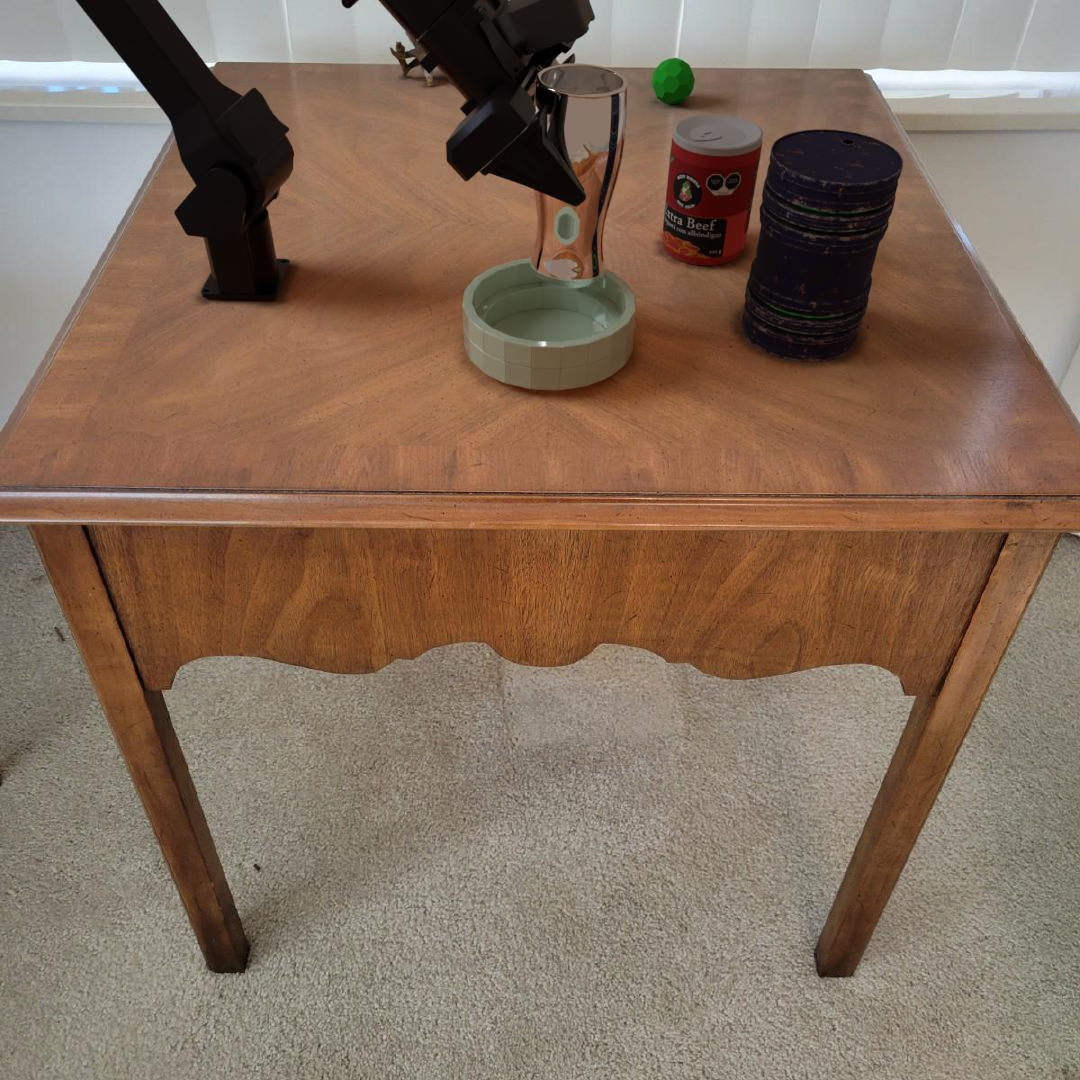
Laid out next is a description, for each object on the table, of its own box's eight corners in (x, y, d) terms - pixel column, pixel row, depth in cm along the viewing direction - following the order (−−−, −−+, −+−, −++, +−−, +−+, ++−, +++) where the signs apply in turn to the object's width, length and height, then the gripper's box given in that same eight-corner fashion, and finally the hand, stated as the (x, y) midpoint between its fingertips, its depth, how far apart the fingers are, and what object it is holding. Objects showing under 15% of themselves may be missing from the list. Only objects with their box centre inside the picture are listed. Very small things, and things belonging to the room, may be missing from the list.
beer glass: (549, 298, 79) (563, 101, 69) (509, 259, 84) (516, 68, 73) (625, 282, 82) (649, 89, 72) (583, 244, 86) (599, 57, 76)
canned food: (644, 247, 96) (655, 130, 88) (695, 219, 100) (709, 105, 92) (710, 276, 92) (727, 157, 84) (760, 246, 96) (781, 129, 89)
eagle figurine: (393, 84, 122) (466, 71, 121) (385, 20, 121) (458, 7, 119) (410, 99, 129) (479, 87, 128) (402, 39, 128) (471, 27, 127)
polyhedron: (695, 109, 120) (699, 67, 117) (653, 110, 120) (657, 68, 117) (687, 94, 124) (692, 52, 121) (647, 94, 124) (651, 53, 120)
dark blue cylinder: (837, 375, 81) (883, 196, 71) (722, 341, 84) (750, 165, 74) (872, 318, 87) (920, 145, 77) (764, 288, 91) (795, 119, 80)
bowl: (633, 399, 78) (638, 349, 75) (457, 393, 79) (454, 343, 75) (629, 306, 88) (633, 259, 85) (472, 301, 88) (470, 254, 85)
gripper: (490, -35, 60) (656, 168, 66) (553, -106, 73) (687, 69, 79) (374, 89, 66) (535, 263, 73) (451, 3, 80) (582, 157, 86)
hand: (590, 182), depth 77 cm, fingers closed on beer glass, 7 cm apart
